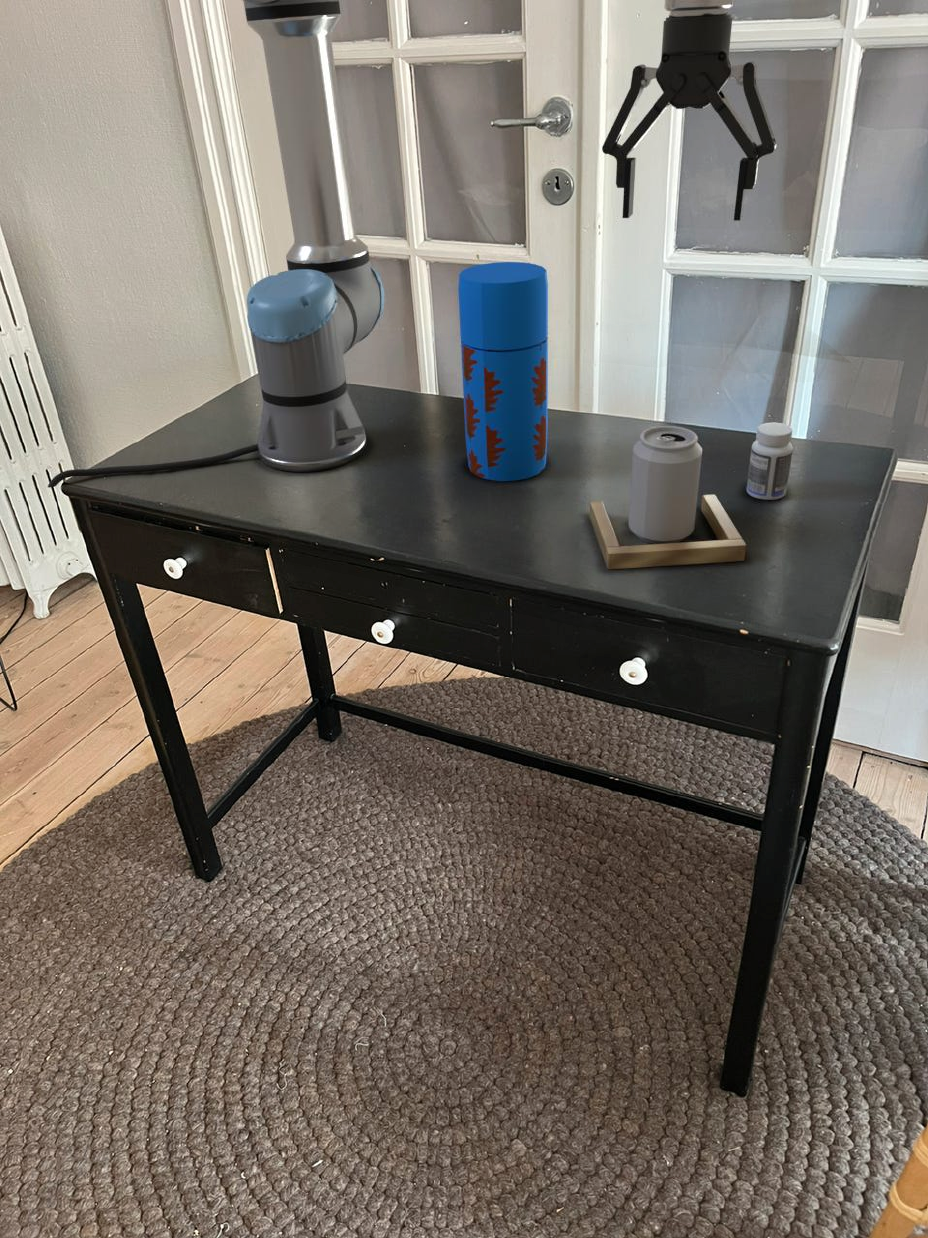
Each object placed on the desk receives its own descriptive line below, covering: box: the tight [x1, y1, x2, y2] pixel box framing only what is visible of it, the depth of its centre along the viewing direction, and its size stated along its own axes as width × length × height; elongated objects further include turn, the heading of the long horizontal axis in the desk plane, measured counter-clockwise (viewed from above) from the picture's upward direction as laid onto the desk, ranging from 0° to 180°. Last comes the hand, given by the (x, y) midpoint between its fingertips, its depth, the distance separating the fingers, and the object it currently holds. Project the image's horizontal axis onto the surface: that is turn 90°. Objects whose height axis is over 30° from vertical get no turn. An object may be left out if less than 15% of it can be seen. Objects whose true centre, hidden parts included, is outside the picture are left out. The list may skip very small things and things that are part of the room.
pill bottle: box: [746, 421, 794, 501], centre depth 111 cm, size 5×5×8 cm
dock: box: [589, 494, 747, 570], centre depth 105 cm, size 15×12×2 cm
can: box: [628, 425, 703, 544], centre depth 103 cm, size 8×8×12 cm
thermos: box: [457, 261, 549, 482], centre depth 117 cm, size 11×11×25 cm
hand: (681, 217), depth 114 cm, fingers open, 13 cm apart
